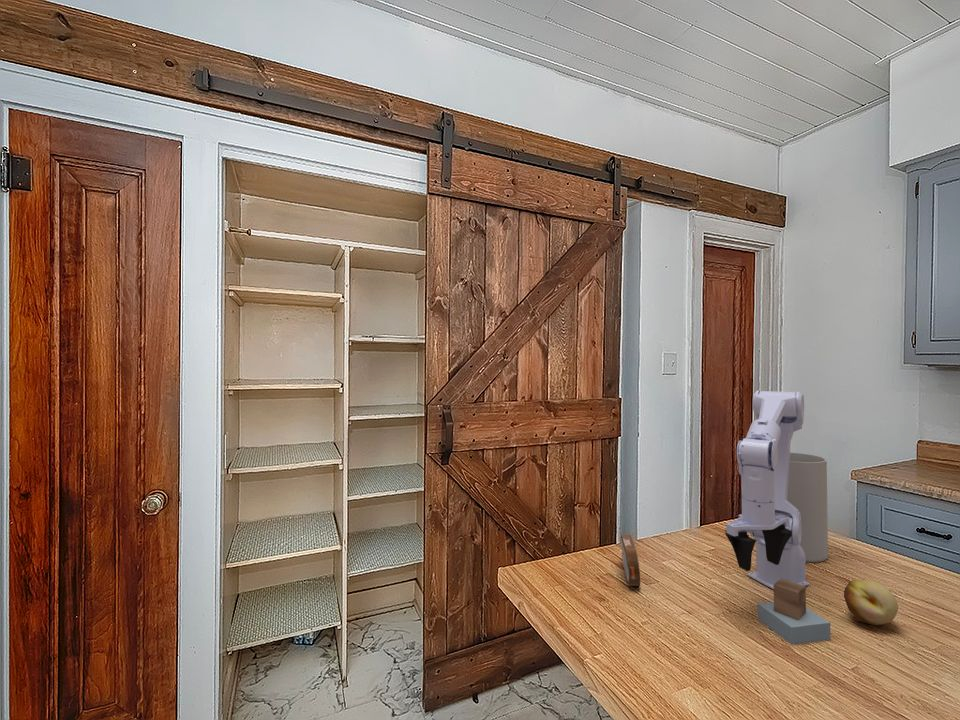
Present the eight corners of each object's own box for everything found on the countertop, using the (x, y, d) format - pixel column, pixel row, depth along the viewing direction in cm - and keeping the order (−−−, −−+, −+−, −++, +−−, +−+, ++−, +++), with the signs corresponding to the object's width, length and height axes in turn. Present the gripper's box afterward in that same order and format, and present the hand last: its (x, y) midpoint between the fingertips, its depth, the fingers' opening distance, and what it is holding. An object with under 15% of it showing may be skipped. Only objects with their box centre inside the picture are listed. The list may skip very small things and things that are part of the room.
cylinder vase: (777, 539, 128) (775, 450, 127) (832, 552, 118) (831, 457, 118) (763, 552, 119) (761, 457, 119) (822, 568, 110) (820, 465, 110)
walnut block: (782, 603, 89) (781, 578, 89) (806, 612, 86) (805, 586, 86) (773, 610, 87) (773, 584, 87) (798, 620, 83) (797, 592, 83)
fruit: (835, 617, 89) (835, 577, 89) (860, 608, 93) (860, 568, 93) (882, 639, 82) (882, 595, 82) (907, 628, 86) (906, 585, 86)
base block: (793, 617, 90) (793, 599, 90) (830, 641, 83) (830, 622, 83) (757, 621, 89) (757, 603, 89) (791, 646, 81) (791, 627, 81)
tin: (641, 593, 100) (641, 555, 100) (626, 592, 100) (626, 554, 100) (632, 563, 115) (632, 529, 114) (619, 562, 115) (619, 529, 115)
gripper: (767, 489, 98) (768, 552, 98) (713, 497, 93) (714, 562, 93) (799, 498, 91) (800, 566, 91) (743, 507, 87) (744, 578, 87)
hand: (758, 565), depth 92 cm, fingers open, 7 cm apart
